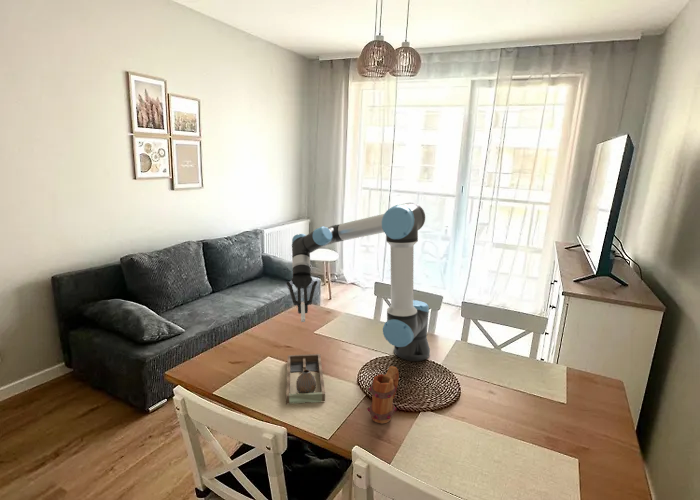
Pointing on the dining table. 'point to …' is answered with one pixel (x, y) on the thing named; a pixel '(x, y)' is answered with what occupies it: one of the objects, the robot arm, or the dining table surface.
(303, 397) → the box
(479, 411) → the dining table surface
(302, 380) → the vase
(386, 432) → the dining table surface
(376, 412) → the mug
